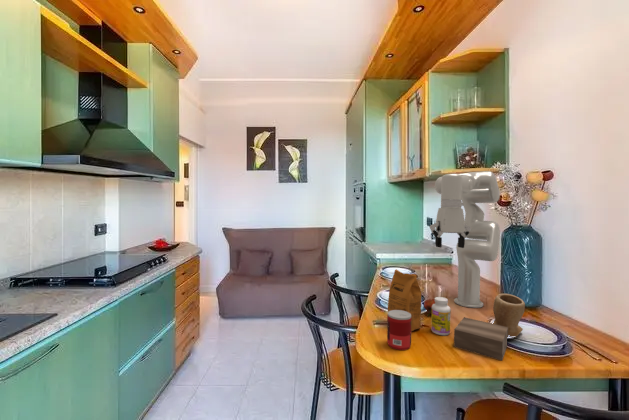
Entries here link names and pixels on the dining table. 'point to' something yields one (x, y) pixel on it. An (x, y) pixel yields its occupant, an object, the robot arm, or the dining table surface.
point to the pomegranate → (429, 305)
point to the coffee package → (406, 296)
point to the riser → (481, 338)
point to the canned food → (399, 329)
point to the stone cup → (508, 312)
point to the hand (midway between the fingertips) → (449, 247)
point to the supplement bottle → (440, 316)
